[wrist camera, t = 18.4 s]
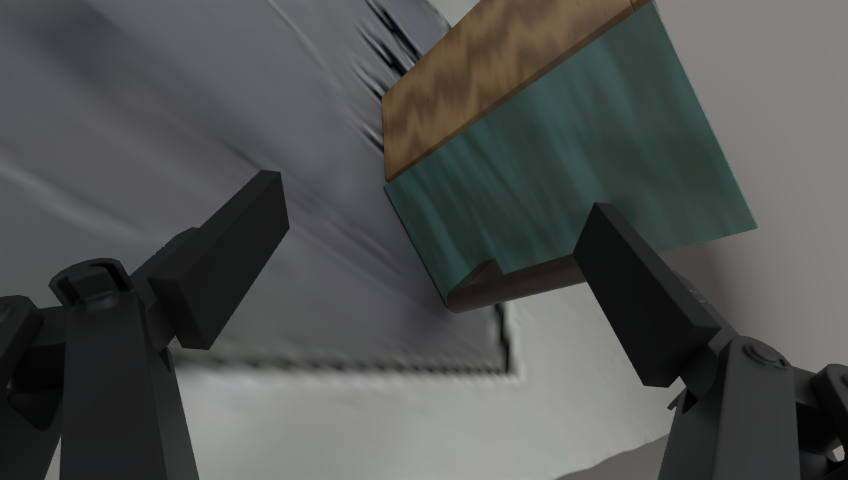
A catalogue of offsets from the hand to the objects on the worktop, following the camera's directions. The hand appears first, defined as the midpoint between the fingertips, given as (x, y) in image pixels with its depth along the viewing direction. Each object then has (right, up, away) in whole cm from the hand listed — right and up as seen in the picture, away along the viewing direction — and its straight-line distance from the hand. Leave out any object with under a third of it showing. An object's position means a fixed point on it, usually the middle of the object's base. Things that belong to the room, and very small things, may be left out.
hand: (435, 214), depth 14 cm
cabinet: (0, +9, +26) cm, 28 cm away
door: (-3, -3, +17) cm, 18 cm away
